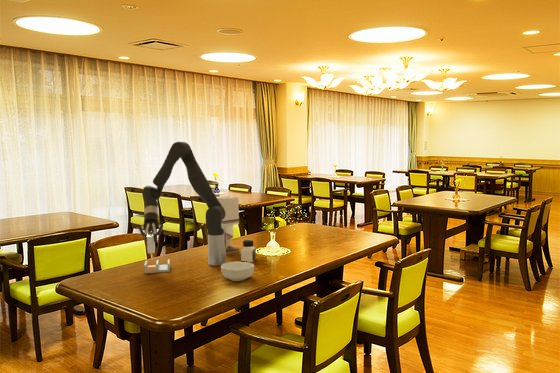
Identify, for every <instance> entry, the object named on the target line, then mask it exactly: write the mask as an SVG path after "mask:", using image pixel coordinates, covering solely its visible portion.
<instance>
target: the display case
mask: <svg viewBox="0 0 560 373" xmlns="http://www.w3.org/2000/svg"><path fill="white" fill-rule="evenodd" d="M216 198H217V199H218V201H219V202H220V204H221V205H222V206H223V208H224V210H225V218H224V219H223V220H221V226H222V228H223V229H224V247H226V255H230V254H234V252H235V253H239V252H240V248H239V247H236V246H232V245H231V240H232V239H233V238H234V226H235V225H240V216H239V215H240V214H239V212H240V210H239V209H240V208H239V201H240V200H239V196H237V197H236V196H234V197H230V195H223V196H222V195H221V196H216Z"/></svg>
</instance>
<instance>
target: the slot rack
mask: <svg viewBox="0 0 560 373" xmlns="http://www.w3.org/2000/svg"><path fill="white" fill-rule="evenodd" d="M170 261H171V260H170V258H169V259H167V264H159V263H160V261H159V259H157V260H156V262H155V264H153V265H151V264H150V265H148V260H145V261H144V264H143V265H144V274H153V273H169V272H171V264H170Z"/></svg>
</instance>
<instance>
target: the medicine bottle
mask: <svg viewBox="0 0 560 373" xmlns="http://www.w3.org/2000/svg"><path fill="white" fill-rule="evenodd" d="M242 247H243V248H241V249H240V262H241V261H245V262H246V261H247V262H249V263H253V262H254V261H255V260H256V259H257V258H256V256H257V253H256V247H254V240H252V239H245V240H243V242H242Z"/></svg>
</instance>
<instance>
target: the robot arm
mask: <svg viewBox="0 0 560 373" xmlns="http://www.w3.org/2000/svg"><path fill="white" fill-rule="evenodd" d="M179 160H181V161H182V162H183V164H184V166H185V169H186V173H187V179H188V181H189V184H190V185H191V187H192V189H193V190H194V192H195V193H196V194H197V195H198V196H199V197H200V198H201V199H202V200H203V201H204V203H205V204H206V207H207V208H208V209H207V210H206V211H205V229H206V231H207V258H208V262H207V263H208V266H213V267H214V266H221V265H222V264H224V263H227V256H226V255H227V254H226V247H224V229H223V228H222V226H221V220H223V219H224V218H225V210H224V208H223V206H222V205H221V204H220V202H219V201H218V199H217V198H216V197H217V196H216V194H215V192H214V191H213V189H212V187H211V185H210V183H209V181H208V179H207V178H206V176H205V174H204V171H203V170H202V168H201V167H200V165H199V163H198V162H197V160H196V157H195V154H194V153H193V150H192V147H191V145H189V143H188V142H185V141H175V142H174V143H172V145H171V146H170V149H169V151H168V153H167V155H166V158H165V159H164V162H163V163H162V164H161V165H162V166H161V168H160V169H159V170H158V172H157V173H156V175H155V176H154V177H153V179H152V184H153V185H155V186H156V187H154V186H151V185H146V186H144V187H143V189H142V193H141V194H142V198H143V202H144V213H143V214H144V215H143V217H144V218H143V219H144V220H143V224H142V225H138V231H139V233H140V235H141V236H142V237H144V242H146V243H147V232H154V242H155V243H156V242H157V240H158V239H157V238H158V236H160V235H161V233H162V232H163V230H164V224H159V202H158V200H160V199H161V196H162V193H163V189H164V188H165V185H166V184H167V182H168V181H169V179H170V177H171V175H172V173H173V172H172V171H173V169H174V167H175V165H176V164H177V162H178V161H179ZM158 228H159V229H158ZM144 229H145V231H144ZM157 229H158V230H157Z"/></svg>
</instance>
